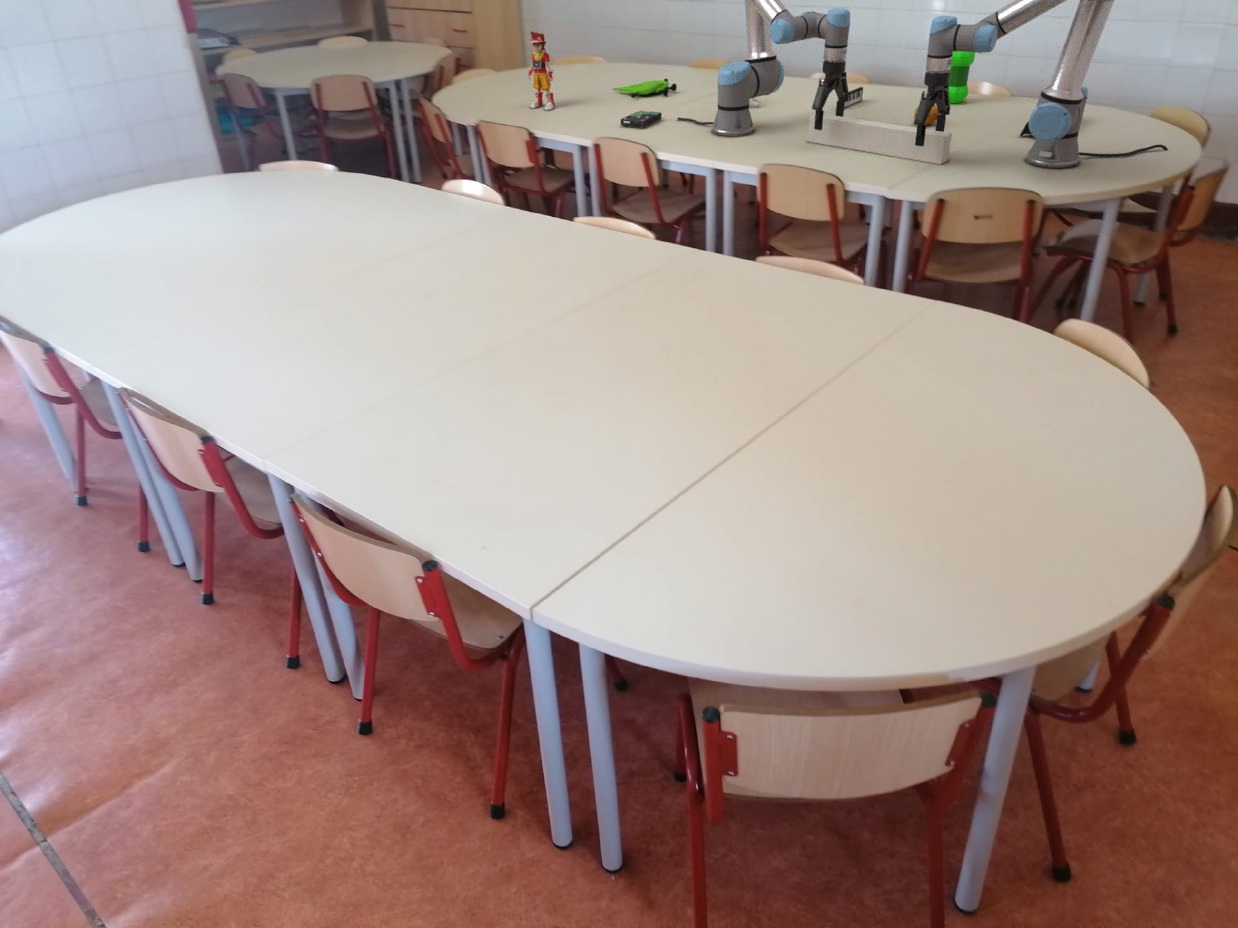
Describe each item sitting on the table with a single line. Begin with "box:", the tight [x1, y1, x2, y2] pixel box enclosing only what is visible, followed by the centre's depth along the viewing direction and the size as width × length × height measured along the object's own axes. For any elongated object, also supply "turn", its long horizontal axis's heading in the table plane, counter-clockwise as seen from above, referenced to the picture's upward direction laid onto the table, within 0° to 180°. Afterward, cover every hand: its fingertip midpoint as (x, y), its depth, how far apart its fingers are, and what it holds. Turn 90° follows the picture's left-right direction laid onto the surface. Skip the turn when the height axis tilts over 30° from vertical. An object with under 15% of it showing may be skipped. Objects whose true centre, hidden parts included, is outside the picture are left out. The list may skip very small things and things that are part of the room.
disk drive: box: [620, 110, 663, 129], centre depth 352 cm, size 10×3×15 cm
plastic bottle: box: [949, 51, 976, 104], centre depth 348 cm, size 10×10×25 cm
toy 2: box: [612, 78, 677, 99], centre depth 396 cm, size 28×5×30 cm
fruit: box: [913, 104, 940, 126], centre depth 329 cm, size 8×8×8 cm
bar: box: [807, 113, 953, 165], centre depth 305 cm, size 50×5×9 cm, turn 47°
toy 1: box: [527, 31, 556, 111], centre depth 374 cm, size 12×9×30 cm
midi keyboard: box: [837, 86, 864, 108], centre depth 358 cm, size 18×1×5 cm, turn 138°
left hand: (828, 125), depth 315 cm, fingers open, 13 cm apart
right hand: (929, 141), depth 293 cm, fingers open, 13 cm apart
